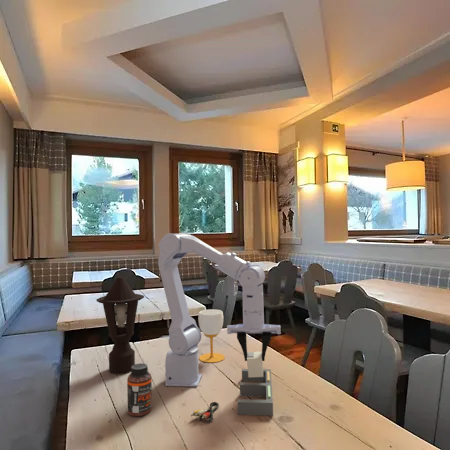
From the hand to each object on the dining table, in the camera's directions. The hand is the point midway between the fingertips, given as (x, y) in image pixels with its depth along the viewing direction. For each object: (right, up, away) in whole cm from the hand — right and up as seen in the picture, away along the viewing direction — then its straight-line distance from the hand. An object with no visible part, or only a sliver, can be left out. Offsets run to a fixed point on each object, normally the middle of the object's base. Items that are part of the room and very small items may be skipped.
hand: (254, 359), depth 99 cm
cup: (-13, -10, +27) cm, 31 cm away
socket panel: (0, -9, -2) cm, 9 cm away
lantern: (-42, -10, +19) cm, 47 cm away
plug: (0, -4, 0) cm, 4 cm away
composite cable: (-12, -10, -11) cm, 19 cm away
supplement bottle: (-29, -10, -9) cm, 32 cm away
